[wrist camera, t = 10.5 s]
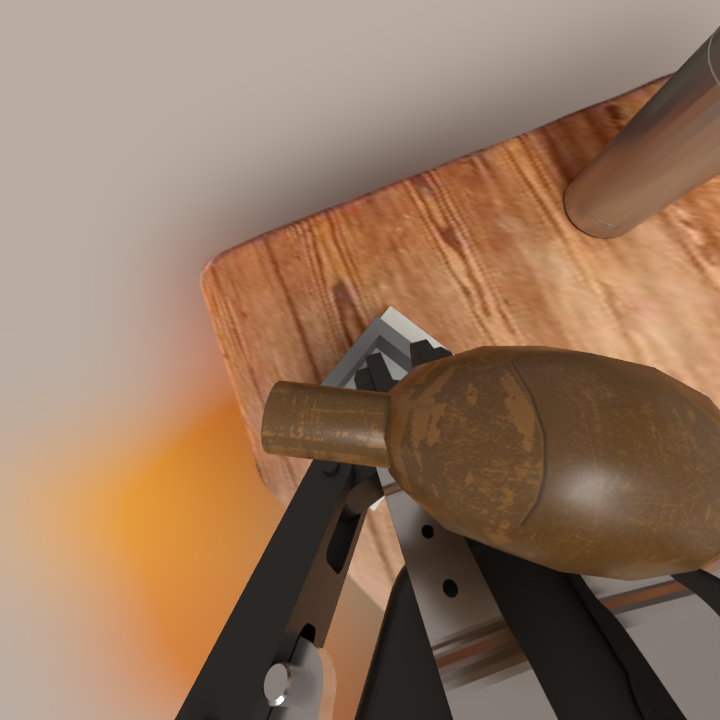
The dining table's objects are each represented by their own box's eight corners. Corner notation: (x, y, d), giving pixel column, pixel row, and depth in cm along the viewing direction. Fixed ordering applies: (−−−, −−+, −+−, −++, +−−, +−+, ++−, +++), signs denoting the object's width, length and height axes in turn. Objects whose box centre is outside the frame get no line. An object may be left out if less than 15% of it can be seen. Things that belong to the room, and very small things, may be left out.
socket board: (389, 310, 32) (397, 282, 24) (472, 374, 31) (507, 365, 23) (288, 432, 30) (263, 442, 22) (373, 505, 29) (376, 542, 21)
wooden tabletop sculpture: (344, 433, 21) (109, 800, 2) (351, 375, 22) (245, 146, 2) (419, 442, 21) (1171, 982, 1) (423, 383, 22) (964, 207, 2)
